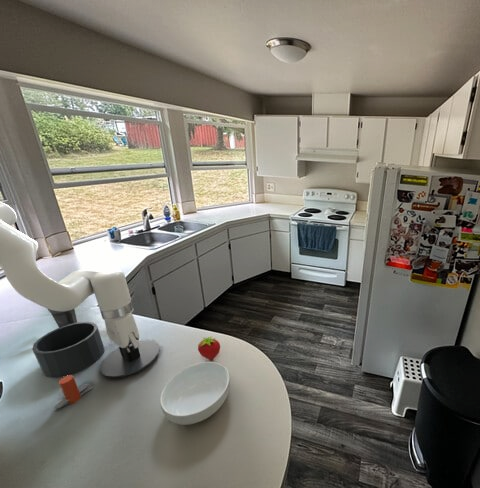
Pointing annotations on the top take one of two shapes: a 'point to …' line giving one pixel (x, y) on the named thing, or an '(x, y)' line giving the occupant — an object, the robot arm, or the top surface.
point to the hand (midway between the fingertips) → (131, 356)
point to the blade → (71, 391)
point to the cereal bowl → (195, 393)
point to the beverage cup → (64, 317)
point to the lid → (122, 367)
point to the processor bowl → (68, 349)
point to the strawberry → (209, 348)
